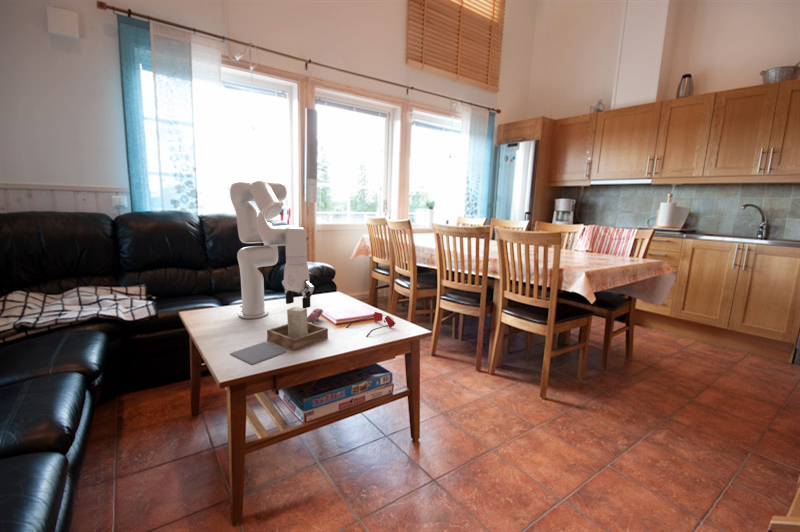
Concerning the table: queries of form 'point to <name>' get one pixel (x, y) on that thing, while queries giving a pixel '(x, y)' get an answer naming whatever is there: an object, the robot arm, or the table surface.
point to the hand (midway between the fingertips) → (298, 305)
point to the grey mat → (257, 353)
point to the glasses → (379, 317)
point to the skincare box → (297, 322)
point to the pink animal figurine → (314, 315)
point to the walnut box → (279, 338)
